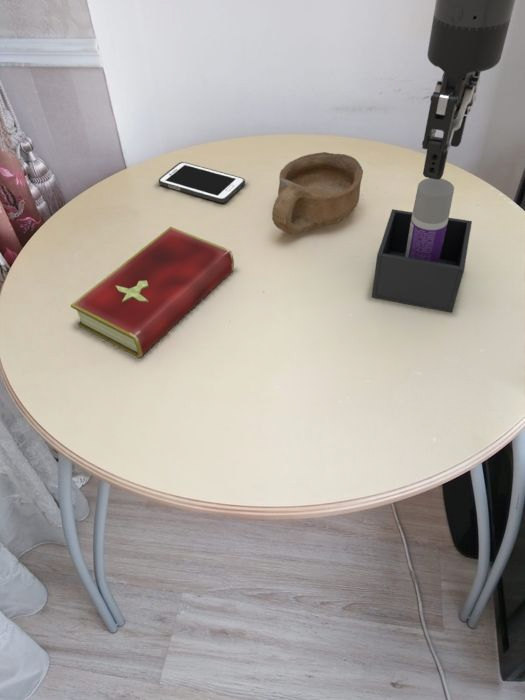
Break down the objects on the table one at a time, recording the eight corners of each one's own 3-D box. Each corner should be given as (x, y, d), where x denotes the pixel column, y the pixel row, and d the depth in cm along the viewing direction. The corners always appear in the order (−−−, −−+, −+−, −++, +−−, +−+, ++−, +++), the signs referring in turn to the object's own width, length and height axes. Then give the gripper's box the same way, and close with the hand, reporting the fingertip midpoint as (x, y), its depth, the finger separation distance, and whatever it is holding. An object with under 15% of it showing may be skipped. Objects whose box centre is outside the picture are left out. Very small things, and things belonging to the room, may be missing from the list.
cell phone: (224, 204, 98) (223, 200, 97) (157, 185, 103) (156, 180, 102) (247, 183, 102) (246, 178, 102) (181, 165, 108) (180, 160, 107)
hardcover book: (234, 271, 86) (232, 249, 83) (141, 359, 74) (135, 337, 71) (174, 247, 90) (170, 225, 87) (78, 325, 79) (69, 303, 76)
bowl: (344, 254, 85) (329, 195, 79) (264, 255, 92) (245, 201, 86) (378, 193, 96) (368, 137, 89) (304, 198, 103) (289, 146, 96)
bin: (460, 263, 85) (471, 220, 79) (452, 312, 78) (464, 269, 72) (386, 251, 88) (392, 209, 82) (371, 297, 80) (377, 254, 75)
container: (441, 282, 81) (463, 190, 70) (415, 293, 80) (433, 201, 69) (420, 264, 84) (438, 173, 73) (394, 274, 83) (409, 183, 72)
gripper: (496, 39, 51) (458, 196, 63) (524, -6, 60) (486, 139, 72) (415, 30, 54) (393, 182, 66) (453, -13, 62) (427, 129, 74)
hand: (442, 160), depth 69 cm, fingers open, 8 cm apart
